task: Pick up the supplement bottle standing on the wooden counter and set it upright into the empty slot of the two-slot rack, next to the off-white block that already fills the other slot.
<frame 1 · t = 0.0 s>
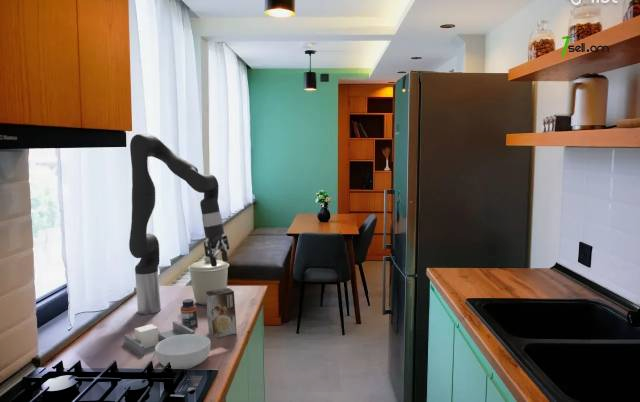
hand: (220, 263, 196), 22 cm above the counter, tool pointing down, fingers open, 8 cm apart
off-white block: (147, 344, 169), point 1 cm above the counter, touching slot rack
cereal bowl: (184, 365, 155), on the counter
canister: (210, 302, 221), on the counter
coffee box: (222, 334, 181), on the counter
supplement bottle: (190, 329, 187), on the counter
slot rack: (160, 345, 172), on the counter
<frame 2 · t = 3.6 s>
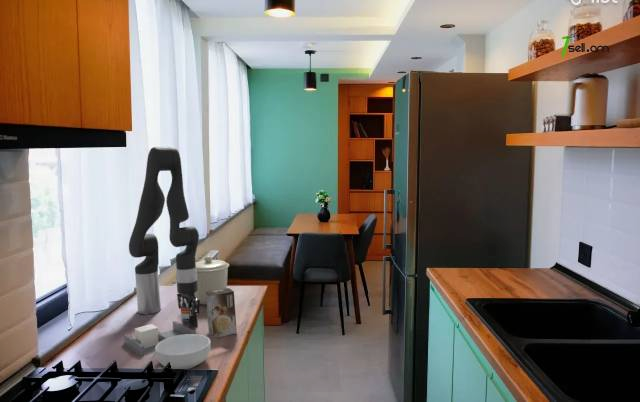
hand: (189, 322, 187), 3 cm above the counter, tool pointing down, fingers closed on supplement bottle, 6 cm apart
supplement bottle: (190, 329, 187), on the counter, touching gripper
everything else where it was.
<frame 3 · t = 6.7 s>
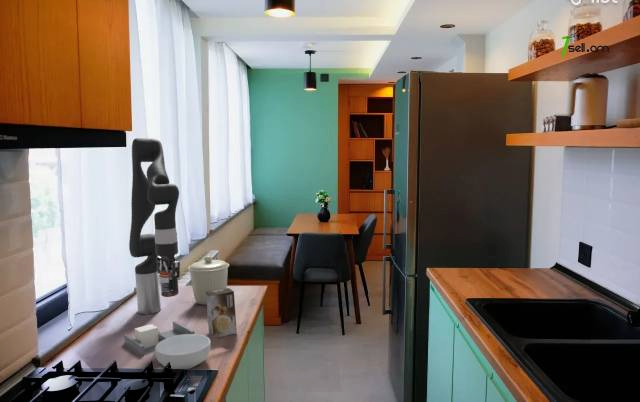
hand: (169, 287, 173), 20 cm above the counter, tool pointing down, fingers closed on supplement bottle, 6 cm apart
supplement bottle: (169, 295, 173), point 17 cm above the counter, touching gripper
everything else where it was.
when the fingers open (6 cm above the counter, at t = 9.8 s): supplement bottle drops 2 cm, resting on slot rack.
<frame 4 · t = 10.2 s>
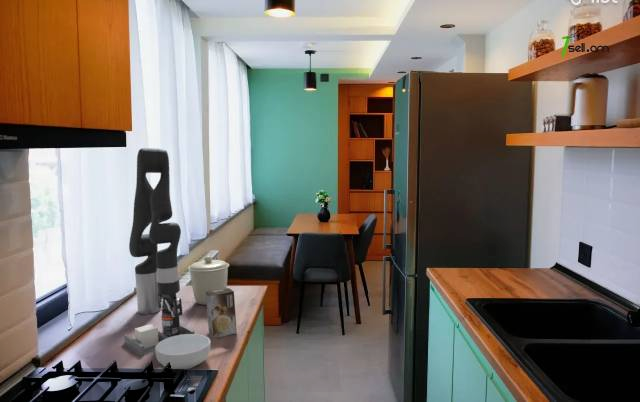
hand: (171, 323, 174), 7 cm above the counter, tool pointing down, fingers open, 8 cm apart
supplement bottle: (171, 337, 175), point 1 cm above the counter, touching slot rack
everything else where it was.
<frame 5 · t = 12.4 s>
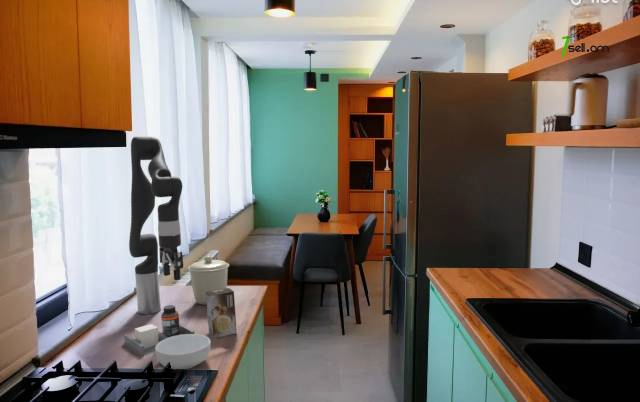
hand: (172, 277, 175), 23 cm above the counter, tool pointing down, fingers open, 8 cm apart
nothing on the counter moved.
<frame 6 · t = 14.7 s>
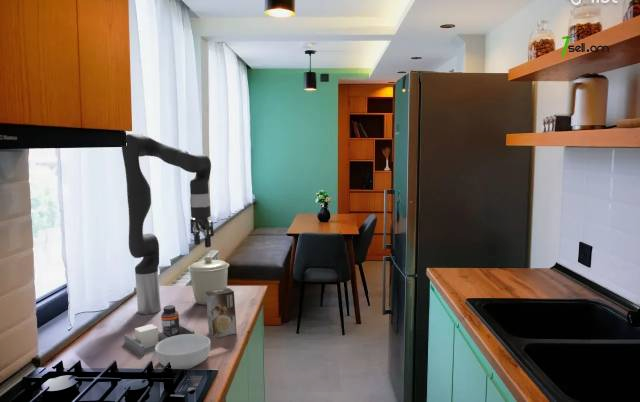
hand: (202, 245, 194), 30 cm above the counter, tool pointing down, fingers open, 8 cm apart
nothing on the counter moved.
at the end: supplement bottle 0.3 cm from the target spot on the slot rack, point 1.3 cm above the slot rack's base; supplement bottle tilted 0°; the gripper is holding nothing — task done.
